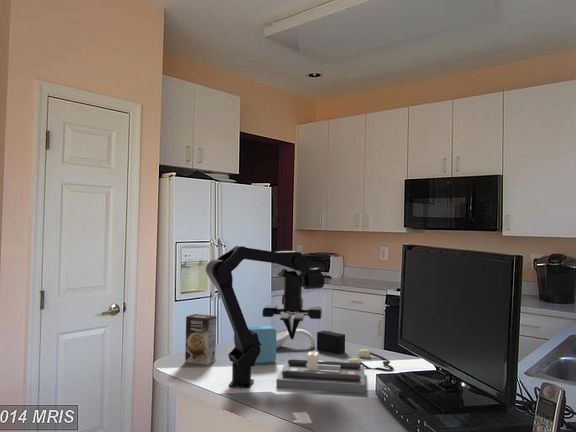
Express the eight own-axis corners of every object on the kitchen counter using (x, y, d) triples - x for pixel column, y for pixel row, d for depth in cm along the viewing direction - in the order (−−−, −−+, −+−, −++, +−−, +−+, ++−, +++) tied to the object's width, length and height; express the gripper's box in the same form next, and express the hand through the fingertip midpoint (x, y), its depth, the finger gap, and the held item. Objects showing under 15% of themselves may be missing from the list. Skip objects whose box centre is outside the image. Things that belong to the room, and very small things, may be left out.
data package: (273, 358, 169) (273, 325, 169) (276, 362, 165) (276, 328, 165) (240, 360, 166) (240, 327, 166) (242, 364, 161) (243, 329, 162)
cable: (399, 361, 169) (399, 351, 169) (392, 374, 154) (392, 364, 154) (357, 356, 175) (357, 346, 175) (346, 368, 160) (346, 358, 160)
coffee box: (184, 362, 163) (185, 316, 163) (193, 357, 169) (194, 313, 169) (207, 365, 160) (208, 318, 160) (216, 360, 166) (216, 315, 166)
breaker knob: (316, 373, 144) (317, 355, 144) (307, 372, 145) (307, 354, 145) (318, 369, 148) (318, 351, 148) (308, 368, 149) (308, 351, 149)
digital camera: (347, 351, 179) (347, 333, 179) (339, 354, 175) (339, 336, 175) (324, 347, 186) (324, 329, 186) (316, 349, 182) (317, 331, 182)
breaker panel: (364, 393, 135) (364, 378, 135) (276, 387, 139) (276, 373, 139) (364, 373, 153) (364, 360, 153) (285, 369, 157) (286, 356, 157)
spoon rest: (255, 351, 179) (255, 333, 179) (254, 344, 190) (255, 326, 191) (316, 351, 181) (316, 332, 181) (312, 343, 192) (312, 325, 193)
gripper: (323, 287, 156) (323, 334, 156) (269, 286, 159) (268, 331, 159) (320, 292, 145) (320, 342, 145) (262, 290, 148) (261, 339, 148)
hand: (292, 338), depth 150 cm, fingers closed
